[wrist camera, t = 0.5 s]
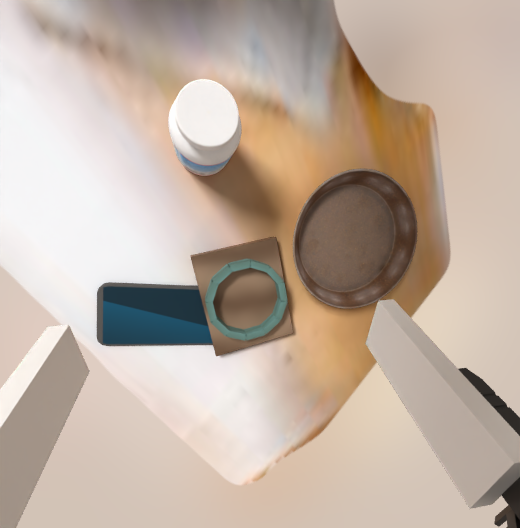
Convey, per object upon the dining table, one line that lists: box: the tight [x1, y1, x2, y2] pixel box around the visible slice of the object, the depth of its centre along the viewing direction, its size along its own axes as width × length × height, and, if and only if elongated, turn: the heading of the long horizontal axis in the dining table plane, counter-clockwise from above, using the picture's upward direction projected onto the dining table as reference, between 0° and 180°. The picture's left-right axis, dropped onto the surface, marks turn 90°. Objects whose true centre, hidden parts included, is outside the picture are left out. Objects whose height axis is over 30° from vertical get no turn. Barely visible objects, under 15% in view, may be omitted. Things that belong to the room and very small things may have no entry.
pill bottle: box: [168, 79, 241, 176], centre depth 25 cm, size 6×6×11 cm
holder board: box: [191, 237, 293, 356], centre depth 34 cm, size 13×10×3 cm
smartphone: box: [97, 283, 213, 346], centre depth 33 cm, size 8×15×1 cm, turn 84°
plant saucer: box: [293, 169, 417, 308], centre depth 36 cm, size 18×18×3 cm
